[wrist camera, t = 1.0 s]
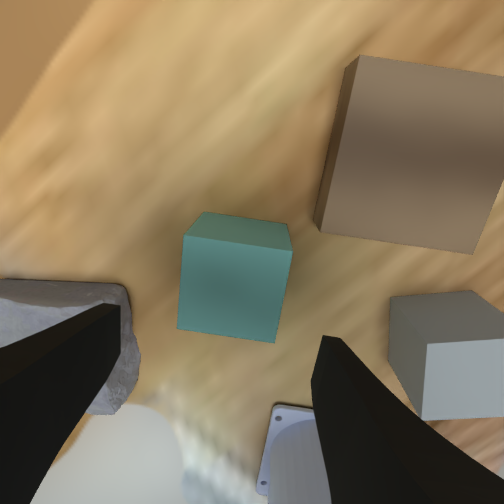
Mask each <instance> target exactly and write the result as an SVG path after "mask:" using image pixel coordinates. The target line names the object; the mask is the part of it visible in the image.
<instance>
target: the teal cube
mask: <svg viewBox="0 0 504 504" xmlns="http://www.w3.org/2000/svg"><path fill="white" fill-rule="evenodd" d="M292 254H293V249H292V245H291V241H290V237H289V233H288V228H287V224H282V223H276V222H269V221H263V220H256V219H249V218H243V217H236V216H230V215H223V214H216V213H210V212H203V213H202V215H201V216H200V217H199V218H198V219H197V220H196V221H195V223H194V224H193V225H192V226H191V227H190V228H189V229H188V231H187V232H186V233H185V234H184V236H183V250H182V264H181V278H180V292H179V306H178V320H177V329H181V330H188V331H195V332H201V333H208V334H215V335H222V336H228V337H235V338H242V339H249V340H255V341H262V342H269V343H275V339H276V334H277V329H278V324H279V319H280V314H281V309H282V304H283V299H284V294H285V289H286V284H287V279H288V274H289V269H290V264H291V259H292Z"/></svg>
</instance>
